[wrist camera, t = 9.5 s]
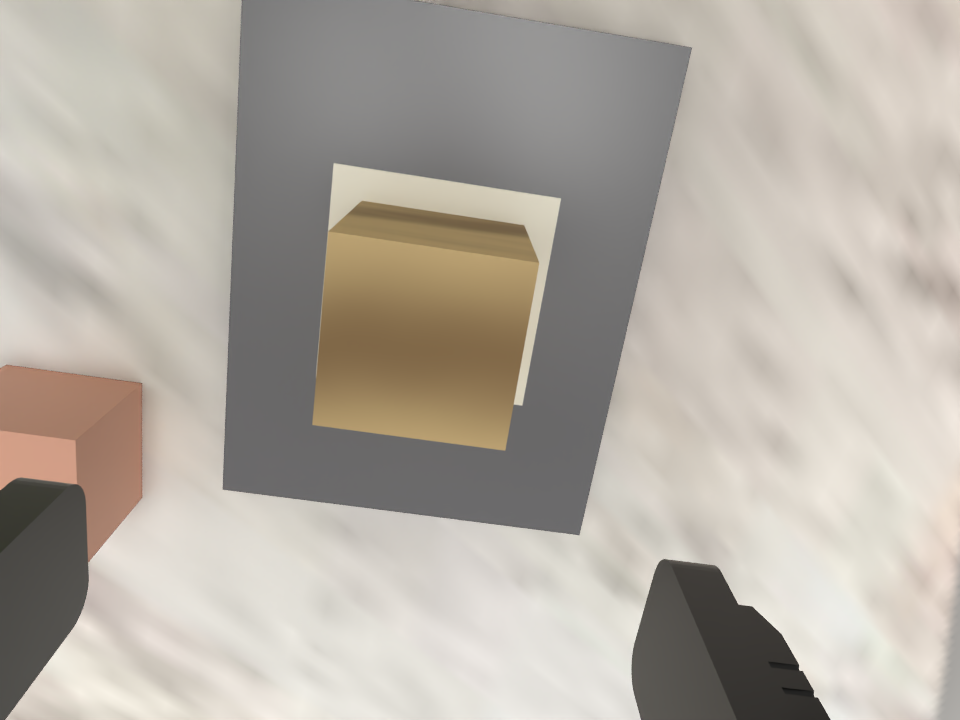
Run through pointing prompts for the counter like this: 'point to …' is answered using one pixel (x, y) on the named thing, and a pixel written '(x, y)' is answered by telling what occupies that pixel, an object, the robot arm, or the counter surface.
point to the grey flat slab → (446, 189)
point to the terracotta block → (74, 440)
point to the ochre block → (423, 325)
